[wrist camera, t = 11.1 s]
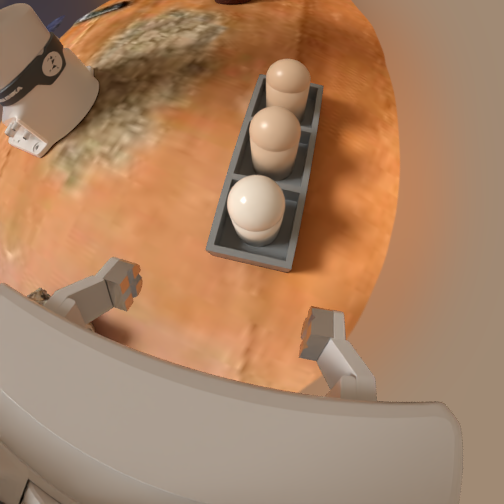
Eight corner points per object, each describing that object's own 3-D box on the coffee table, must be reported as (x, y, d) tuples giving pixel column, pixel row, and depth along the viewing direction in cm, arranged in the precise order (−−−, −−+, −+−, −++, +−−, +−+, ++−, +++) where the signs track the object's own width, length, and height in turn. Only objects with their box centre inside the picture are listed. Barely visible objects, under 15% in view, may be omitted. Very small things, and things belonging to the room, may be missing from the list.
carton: (212, 255, 27) (187, 234, 18) (260, 91, 30) (258, 38, 21) (287, 272, 26) (300, 260, 17) (319, 102, 30) (332, 50, 21)
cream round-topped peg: (230, 241, 26) (216, 216, 18) (241, 199, 27) (232, 159, 19) (275, 251, 26) (280, 230, 18) (284, 208, 27) (292, 171, 19)
